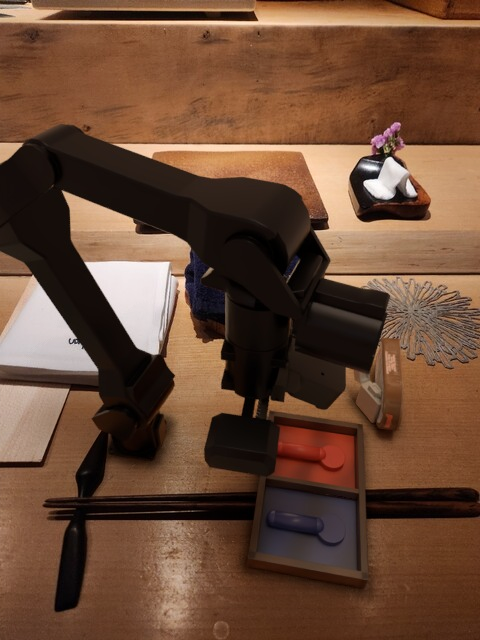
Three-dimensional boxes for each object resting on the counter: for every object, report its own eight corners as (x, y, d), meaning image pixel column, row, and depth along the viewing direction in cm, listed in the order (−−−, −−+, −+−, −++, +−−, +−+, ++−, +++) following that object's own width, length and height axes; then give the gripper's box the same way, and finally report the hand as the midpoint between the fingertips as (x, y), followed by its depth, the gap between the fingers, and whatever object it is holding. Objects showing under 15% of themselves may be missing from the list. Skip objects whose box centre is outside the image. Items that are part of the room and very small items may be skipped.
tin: (394, 443, 64) (410, 407, 58) (371, 439, 65) (385, 402, 59) (390, 364, 75) (403, 327, 69) (370, 361, 75) (382, 324, 70)
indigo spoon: (264, 534, 54) (265, 527, 53) (267, 506, 56) (268, 499, 55) (344, 548, 53) (347, 542, 52) (344, 519, 55) (347, 513, 54)
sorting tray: (247, 567, 52) (247, 558, 50) (268, 421, 66) (269, 410, 65) (363, 588, 50) (368, 580, 49) (359, 434, 65) (362, 424, 63)
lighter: (381, 419, 67) (395, 383, 61) (372, 423, 66) (385, 388, 61) (352, 384, 72) (362, 349, 66) (343, 388, 71) (352, 352, 66)
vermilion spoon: (273, 462, 61) (273, 455, 60) (275, 440, 63) (276, 432, 62) (344, 473, 60) (346, 466, 58) (344, 451, 62) (346, 443, 61)
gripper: (350, 431, 33) (320, 525, 44) (348, 276, 47) (325, 377, 57) (199, 408, 34) (205, 505, 45) (240, 264, 48) (237, 364, 58)
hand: (251, 430), depth 51 cm, fingers open, 9 cm apart
